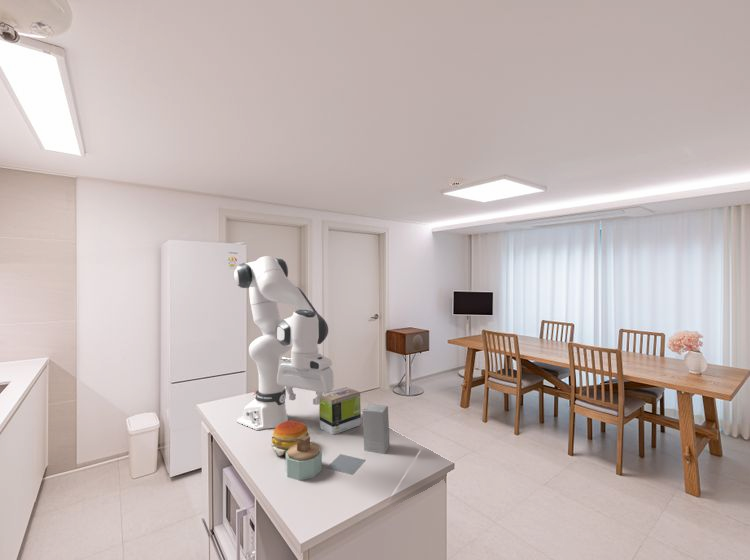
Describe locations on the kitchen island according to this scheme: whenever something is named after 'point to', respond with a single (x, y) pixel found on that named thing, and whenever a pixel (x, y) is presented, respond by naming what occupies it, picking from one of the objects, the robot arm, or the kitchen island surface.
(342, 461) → the mat
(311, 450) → the lid
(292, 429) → the burger
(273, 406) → the robot arm
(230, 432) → the kitchen island surface
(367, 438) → the skincare box
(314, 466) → the bowl
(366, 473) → the kitchen island surface
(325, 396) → the tea box
